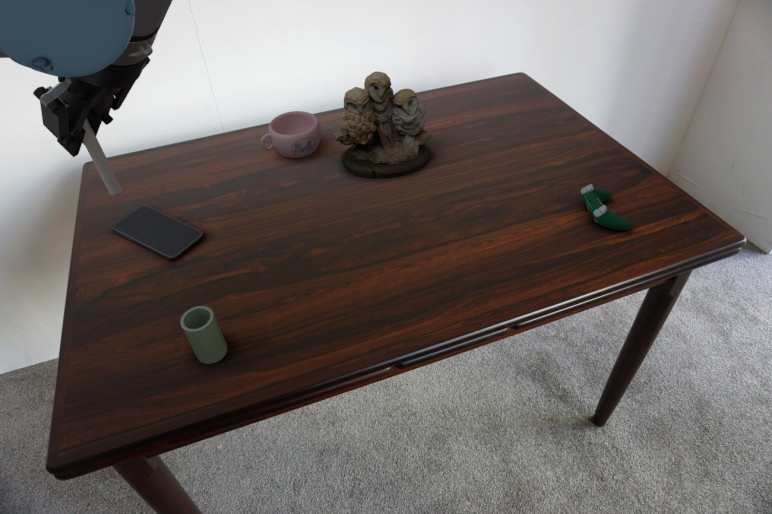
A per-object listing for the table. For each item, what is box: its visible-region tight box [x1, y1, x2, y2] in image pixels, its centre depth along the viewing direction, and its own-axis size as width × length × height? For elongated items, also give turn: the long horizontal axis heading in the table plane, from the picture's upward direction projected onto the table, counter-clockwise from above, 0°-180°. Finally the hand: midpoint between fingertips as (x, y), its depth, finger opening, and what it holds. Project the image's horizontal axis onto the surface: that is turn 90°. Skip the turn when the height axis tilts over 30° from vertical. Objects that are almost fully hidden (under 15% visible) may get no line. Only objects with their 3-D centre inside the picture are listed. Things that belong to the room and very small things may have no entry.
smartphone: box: [112, 204, 205, 261], centre depth 86 cm, size 7×1×15 cm
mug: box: [260, 110, 322, 159], centre depth 101 cm, size 12×10×6 cm
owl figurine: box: [332, 71, 433, 179], centre depth 94 cm, size 18×12×17 cm, turn 103°
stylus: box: [82, 118, 123, 197], centre depth 66 cm, size 2×2×14 cm
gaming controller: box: [579, 183, 631, 231], centre depth 85 cm, size 9×4×6 cm
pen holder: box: [179, 305, 228, 365], centre depth 67 cm, size 4×4×7 cm
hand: (75, 143), depth 68 cm, fingers closed on stylus, 1 cm apart
